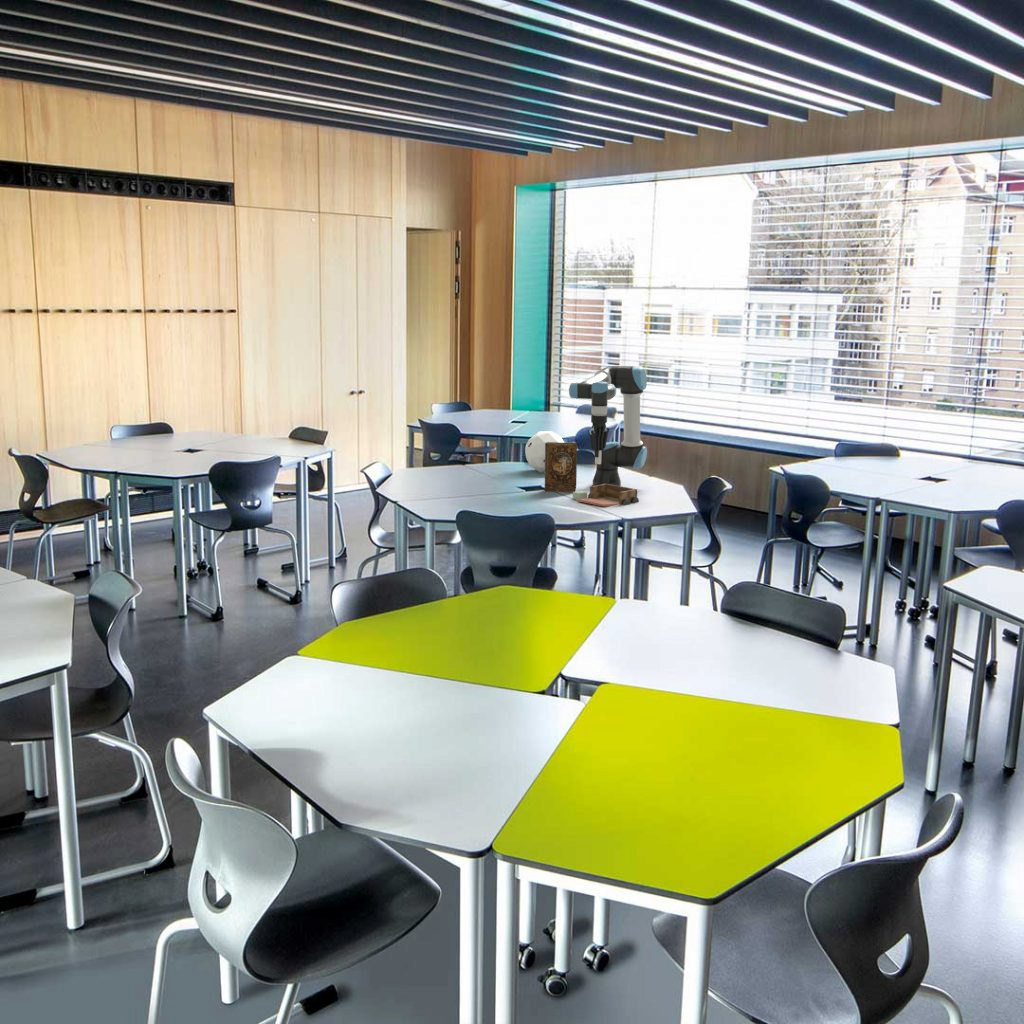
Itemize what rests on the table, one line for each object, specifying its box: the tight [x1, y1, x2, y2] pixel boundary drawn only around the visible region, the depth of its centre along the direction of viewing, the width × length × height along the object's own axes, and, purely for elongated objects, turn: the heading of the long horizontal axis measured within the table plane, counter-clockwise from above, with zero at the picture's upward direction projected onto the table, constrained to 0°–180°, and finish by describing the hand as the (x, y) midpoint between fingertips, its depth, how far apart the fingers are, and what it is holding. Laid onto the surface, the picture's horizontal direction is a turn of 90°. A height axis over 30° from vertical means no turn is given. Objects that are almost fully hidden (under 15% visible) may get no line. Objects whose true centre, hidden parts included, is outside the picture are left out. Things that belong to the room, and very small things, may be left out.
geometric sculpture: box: [524, 430, 565, 473], centre depth 568 cm, size 25×25×25 cm
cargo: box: [572, 490, 588, 501], centre depth 488 cm, size 5×5×5 cm
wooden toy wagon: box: [587, 484, 640, 506], centre depth 485 cm, size 12×23×8 cm, turn 44°
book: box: [544, 442, 578, 493], centre depth 512 cm, size 16×6×25 cm, turn 84°
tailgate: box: [576, 497, 619, 507], centre depth 478 cm, size 1×17×10 cm
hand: (598, 463), depth 472 cm, fingers closed
